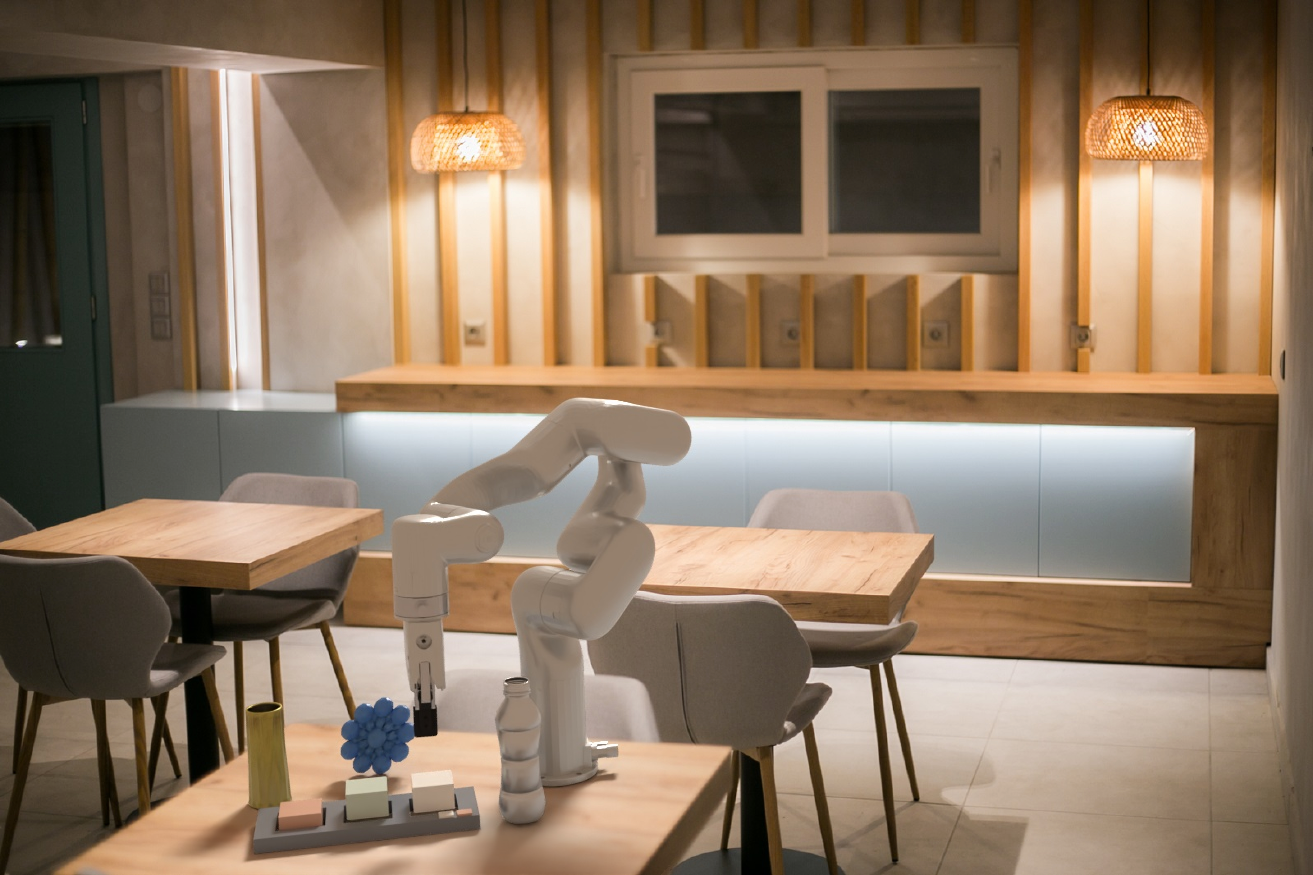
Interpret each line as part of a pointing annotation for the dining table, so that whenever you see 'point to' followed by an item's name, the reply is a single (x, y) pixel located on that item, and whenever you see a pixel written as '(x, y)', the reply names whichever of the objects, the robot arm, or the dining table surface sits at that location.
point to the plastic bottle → (519, 754)
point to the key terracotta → (300, 814)
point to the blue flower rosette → (377, 736)
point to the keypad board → (366, 824)
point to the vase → (267, 756)
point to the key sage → (366, 798)
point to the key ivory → (432, 791)
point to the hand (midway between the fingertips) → (425, 734)
